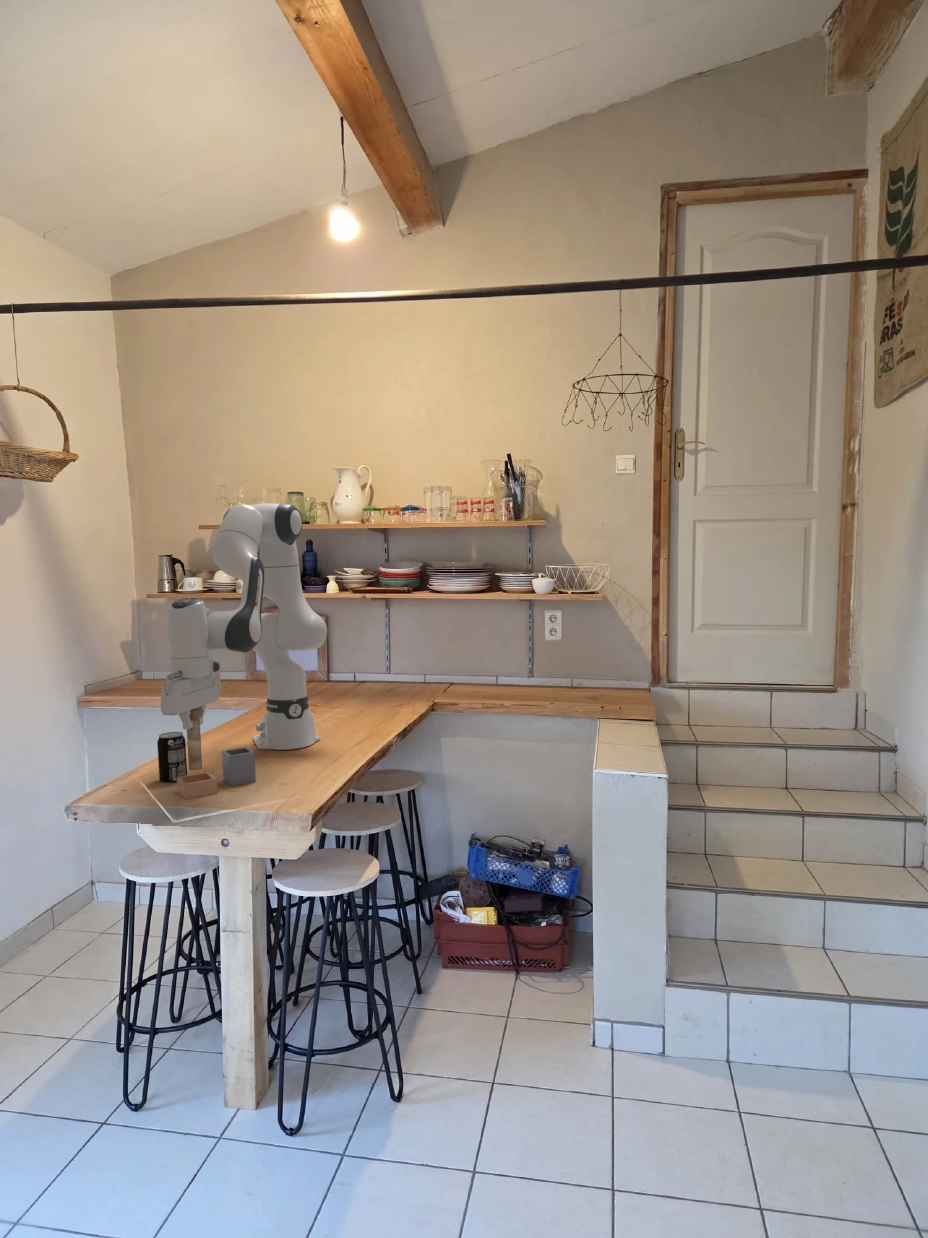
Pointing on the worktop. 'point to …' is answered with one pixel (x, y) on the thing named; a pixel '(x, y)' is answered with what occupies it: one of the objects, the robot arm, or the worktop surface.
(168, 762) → the beverage can
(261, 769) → the worktop surface
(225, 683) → the worktop surface
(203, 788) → the terracotta pot
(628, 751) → the worktop surface
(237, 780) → the deep cup
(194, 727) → the dowel
